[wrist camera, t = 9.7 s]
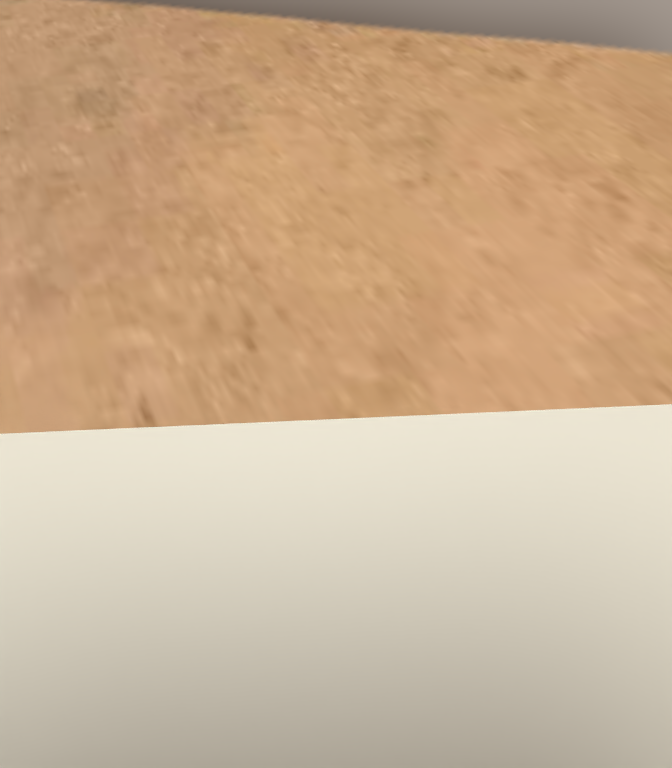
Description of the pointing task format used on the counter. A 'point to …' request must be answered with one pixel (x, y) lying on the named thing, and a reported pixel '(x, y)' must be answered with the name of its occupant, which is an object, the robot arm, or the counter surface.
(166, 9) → the counter surface
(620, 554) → the cream box
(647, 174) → the counter surface
